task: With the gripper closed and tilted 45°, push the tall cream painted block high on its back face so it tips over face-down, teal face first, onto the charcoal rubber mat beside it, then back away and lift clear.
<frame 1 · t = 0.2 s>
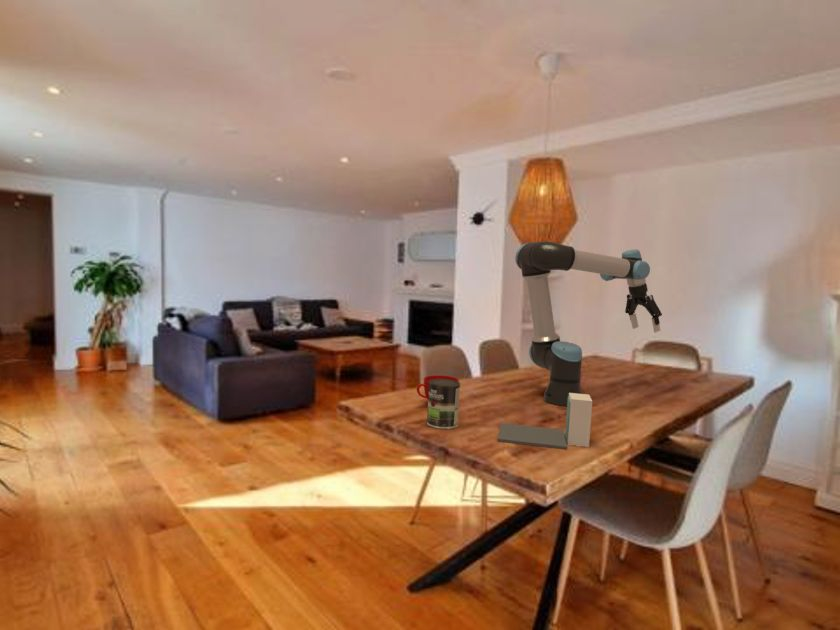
hand: (646, 329, 219), 28 cm above the table, tool tilted 20°, fingers open, 13 cm apart
charcoal mat: (531, 436, 151), on the table
coffee can: (442, 424, 159), on the table
ceramic cup: (435, 406, 181), on the table
cream block: (576, 441, 148), on the table
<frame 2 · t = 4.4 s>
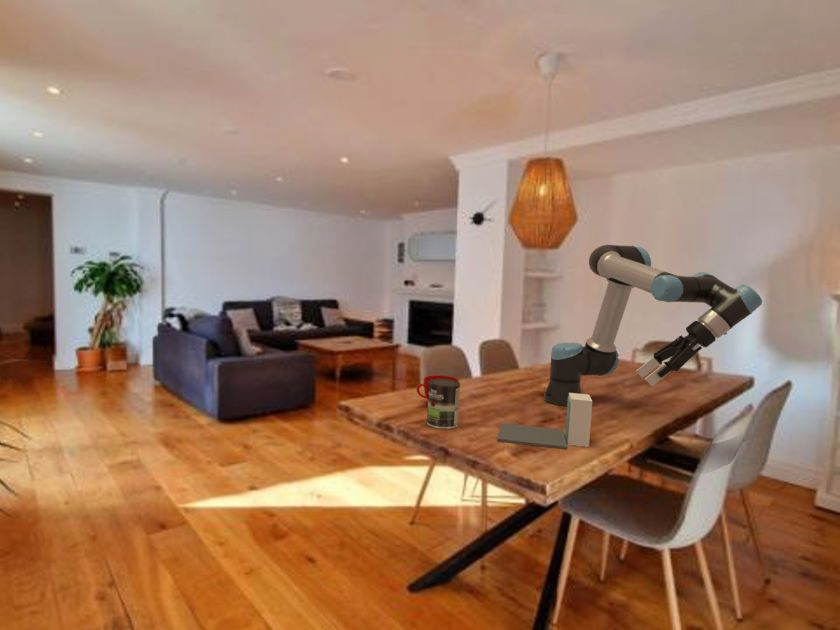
hand: (643, 378, 142), 21 cm above the table, tool tilted 45°, fingers open, 11 cm apart
nothing on the table moved.
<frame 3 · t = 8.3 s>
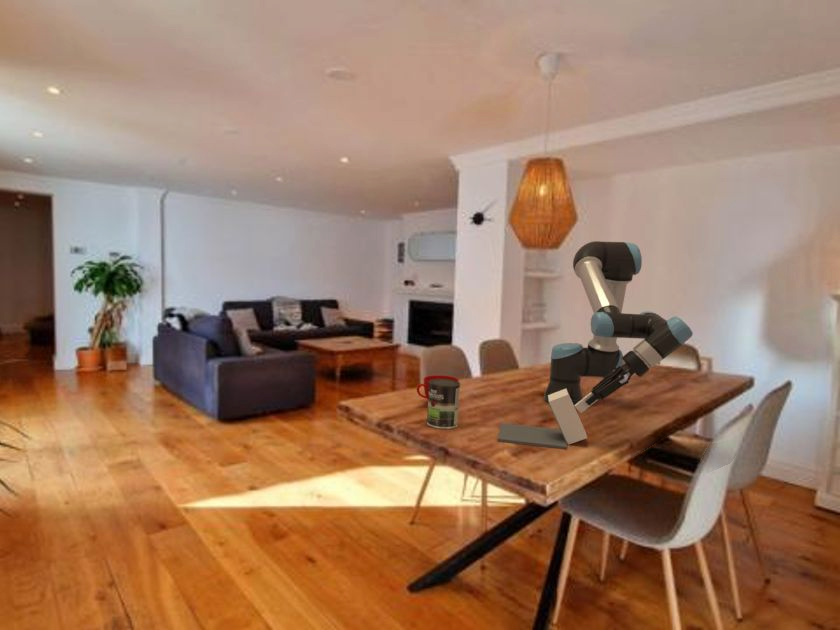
hand: (577, 409, 147), 10 cm above the table, tool tilted 45°, fingers closed
cream block: (576, 437, 148), point 1 cm above the table, tilted 27°, touching charcoal mat, gripper
everything else where it was.
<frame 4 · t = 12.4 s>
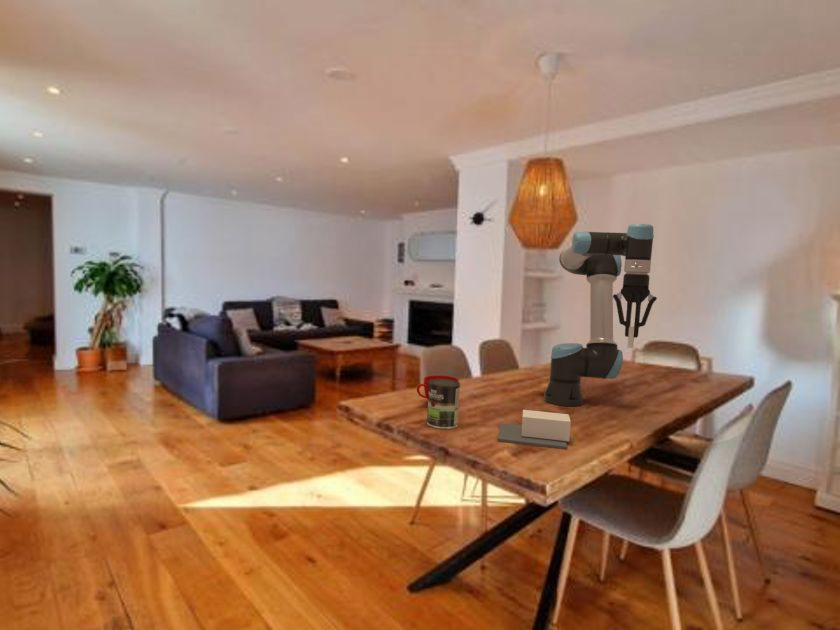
hand: (630, 347, 156), 28 cm above the table, tool pointing down, fingers closed
cream block: (568, 427, 148), point 4 cm above the table, tilted 90°, touching charcoal mat
everything else where it was.
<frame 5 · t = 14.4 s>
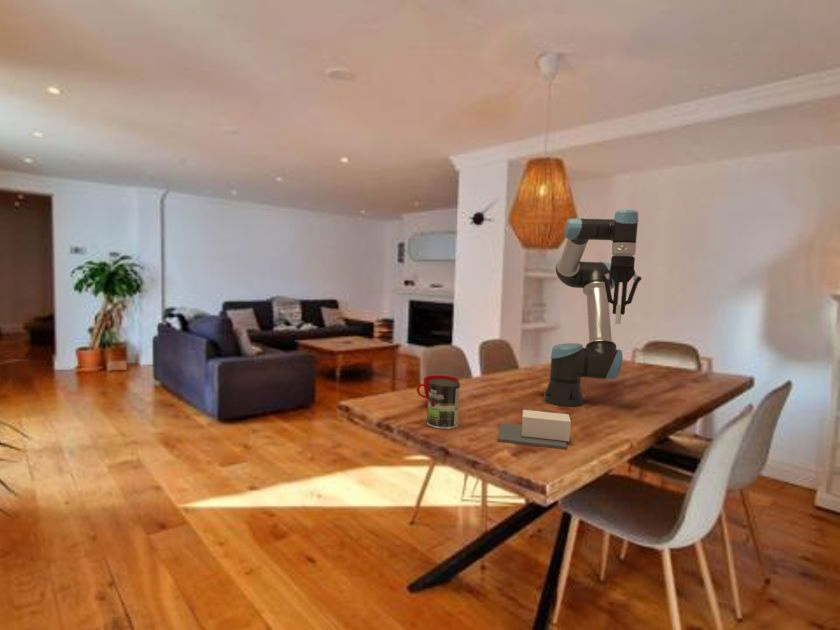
hand: (617, 323, 169), 34 cm above the table, tool pointing down, fingers closed
nothing on the table moved.
at the end: cream block tilted 90°; cream block touching charcoal mat; cream block inside the target area (1.0 cm from its centre), point 4.1 cm above the table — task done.
